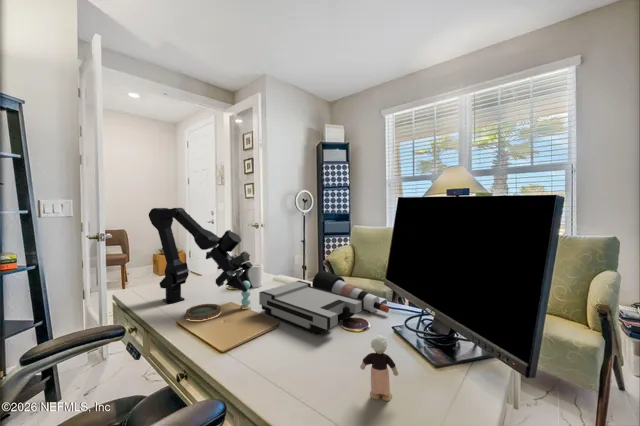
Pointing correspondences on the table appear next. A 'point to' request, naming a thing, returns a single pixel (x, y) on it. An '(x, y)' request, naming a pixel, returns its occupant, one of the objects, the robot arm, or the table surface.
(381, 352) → the grandmother figurine
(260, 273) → the mug
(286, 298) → the grey boxy piece
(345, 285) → the cable
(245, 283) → the bead stack
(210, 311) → the groove tray
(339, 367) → the table surface
